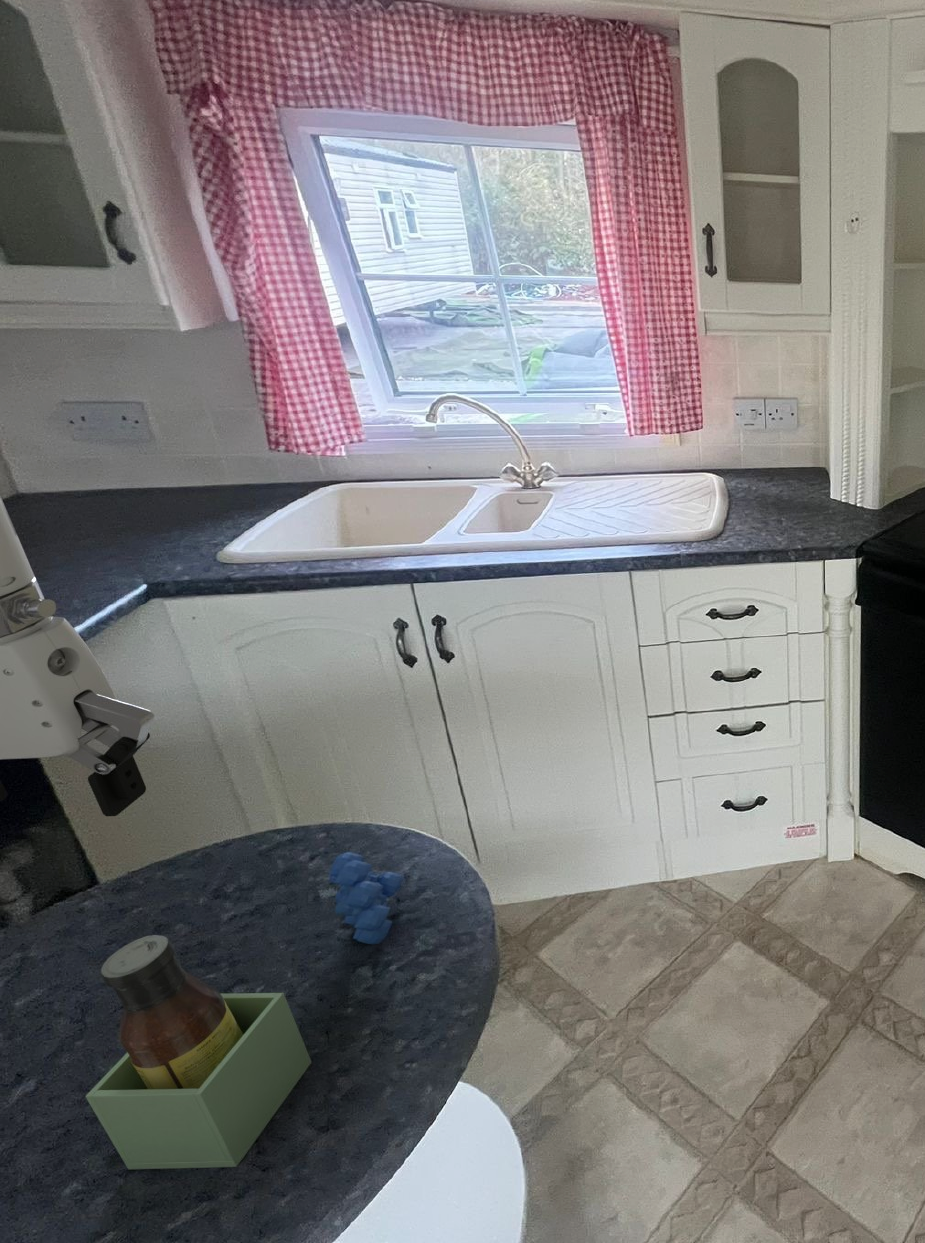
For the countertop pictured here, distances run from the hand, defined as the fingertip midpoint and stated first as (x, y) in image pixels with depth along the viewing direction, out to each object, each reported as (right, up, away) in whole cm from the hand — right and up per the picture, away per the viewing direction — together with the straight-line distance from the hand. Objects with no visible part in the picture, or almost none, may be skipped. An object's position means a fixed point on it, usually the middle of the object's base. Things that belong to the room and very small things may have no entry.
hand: (56, 807), depth 59 cm
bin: (+4, -32, +10) cm, 34 cm away
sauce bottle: (+4, -31, +10) cm, 33 cm away
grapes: (+5, -25, +28) cm, 38 cm away
